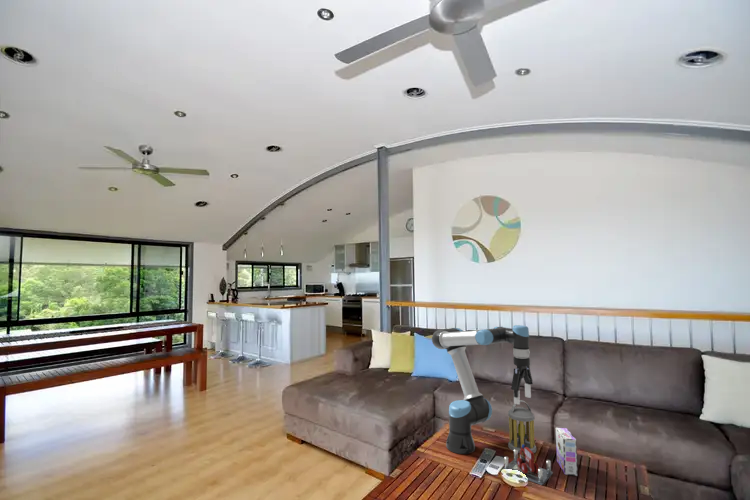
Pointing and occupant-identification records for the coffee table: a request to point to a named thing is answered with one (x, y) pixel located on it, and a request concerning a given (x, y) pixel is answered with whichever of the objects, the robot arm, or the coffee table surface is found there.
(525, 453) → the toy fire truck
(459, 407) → the robot arm
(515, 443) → the lantern
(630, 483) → the coffee table surface
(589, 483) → the coffee table surface
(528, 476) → the chassis
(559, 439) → the candy box
